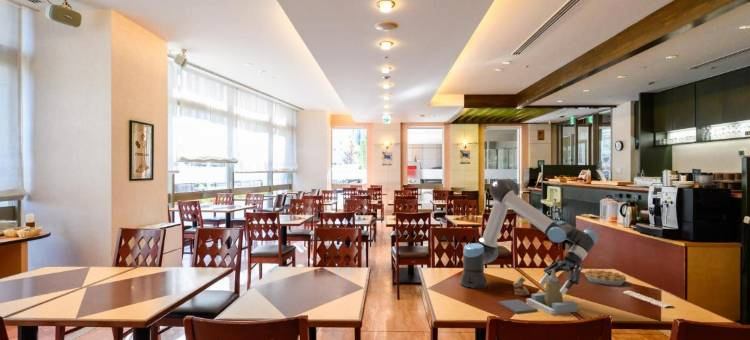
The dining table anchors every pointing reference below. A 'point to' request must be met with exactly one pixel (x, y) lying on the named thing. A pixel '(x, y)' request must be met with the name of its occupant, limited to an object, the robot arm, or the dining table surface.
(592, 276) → the pie
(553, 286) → the squeeze bottle
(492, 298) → the dining table surface
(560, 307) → the grey u-shaped frame
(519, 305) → the rubber mat
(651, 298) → the newspaper
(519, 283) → the chocolate bunny
